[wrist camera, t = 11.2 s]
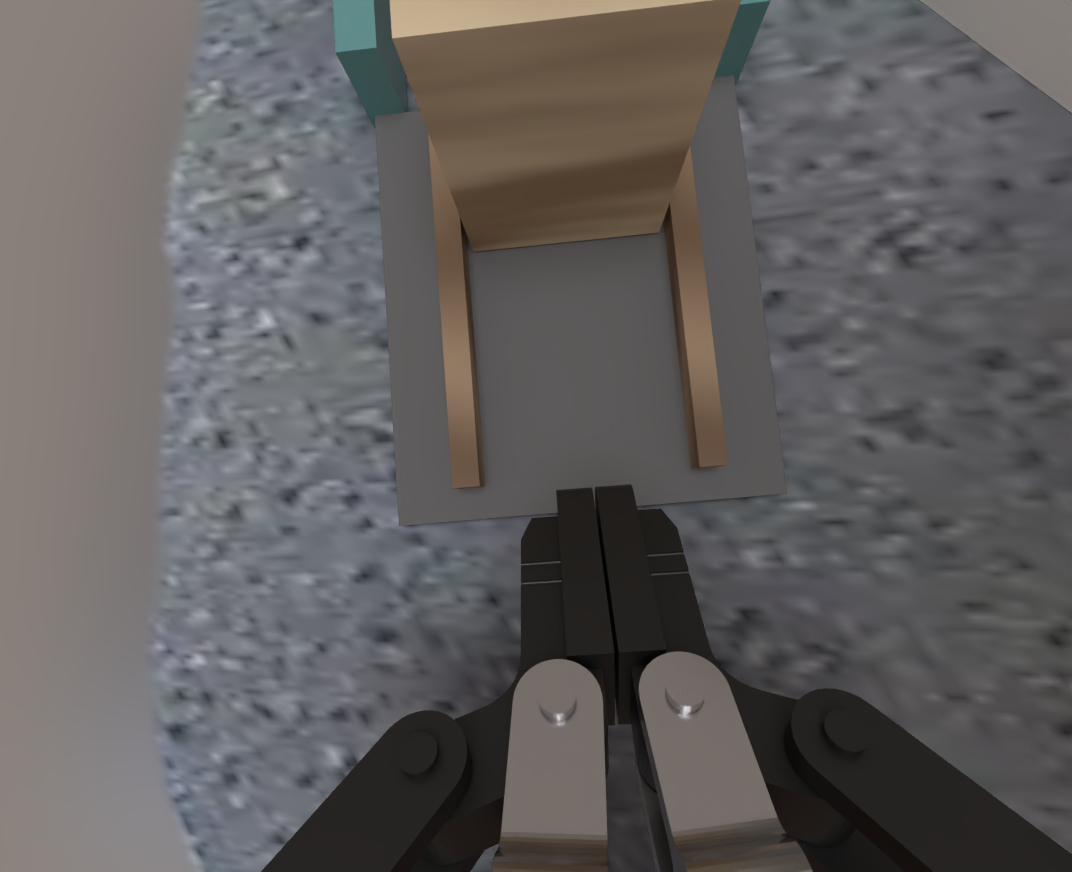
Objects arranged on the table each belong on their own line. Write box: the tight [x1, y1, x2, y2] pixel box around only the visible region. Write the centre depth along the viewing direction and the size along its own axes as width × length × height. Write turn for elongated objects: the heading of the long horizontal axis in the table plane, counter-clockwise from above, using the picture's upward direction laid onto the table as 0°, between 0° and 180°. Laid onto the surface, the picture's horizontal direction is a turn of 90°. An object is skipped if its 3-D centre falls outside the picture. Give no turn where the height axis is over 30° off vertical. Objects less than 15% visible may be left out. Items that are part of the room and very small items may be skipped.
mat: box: [375, 75, 787, 526], centre depth 19 cm, size 14×12×1 cm
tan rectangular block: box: [390, 0, 741, 252], centre depth 14 cm, size 4×6×10 cm, turn 95°
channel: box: [428, 134, 728, 489], centre depth 18 cm, size 12×8×1 cm, turn 5°
